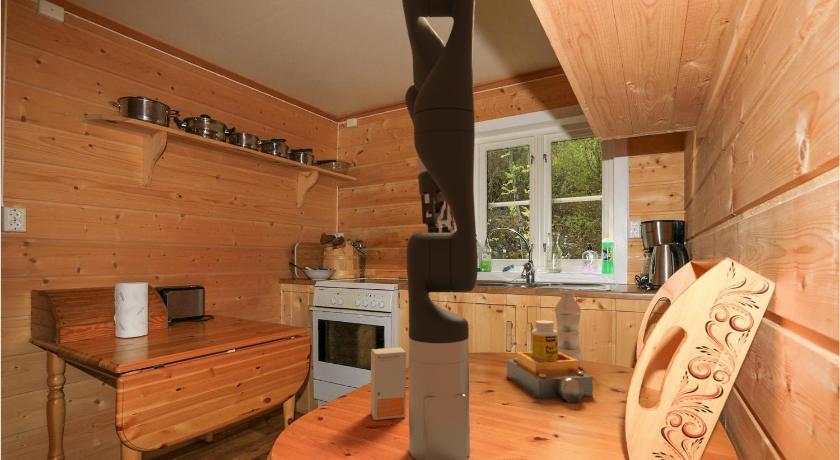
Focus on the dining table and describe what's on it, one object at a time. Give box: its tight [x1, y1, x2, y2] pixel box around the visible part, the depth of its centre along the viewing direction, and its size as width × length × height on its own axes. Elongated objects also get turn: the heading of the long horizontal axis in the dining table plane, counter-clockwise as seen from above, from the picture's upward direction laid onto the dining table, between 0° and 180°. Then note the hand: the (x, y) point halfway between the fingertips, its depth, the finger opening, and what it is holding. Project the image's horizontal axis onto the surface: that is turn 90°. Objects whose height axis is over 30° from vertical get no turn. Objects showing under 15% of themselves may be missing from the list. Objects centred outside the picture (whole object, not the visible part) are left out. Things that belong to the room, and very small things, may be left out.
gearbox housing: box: [506, 350, 594, 404], centre depth 96 cm, size 20×12×6 cm, turn 11°
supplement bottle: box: [531, 319, 558, 362], centre depth 98 cm, size 6×6×10 cm
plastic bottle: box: [554, 288, 583, 366], centre depth 114 cm, size 6×7×20 cm
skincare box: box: [370, 347, 407, 421], centre depth 81 cm, size 6×4×12 cm
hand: (441, 248), depth 91 cm, fingers open, 8 cm apart
